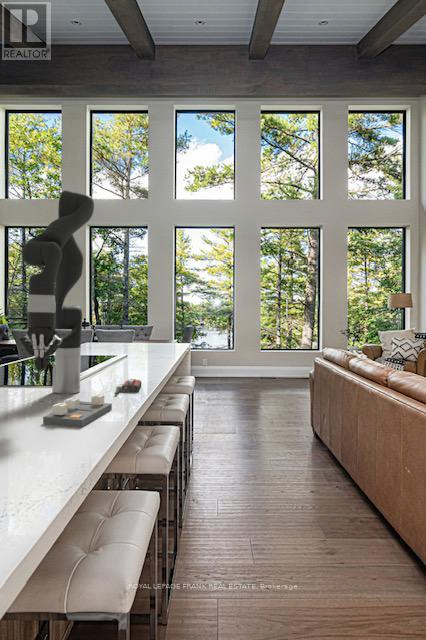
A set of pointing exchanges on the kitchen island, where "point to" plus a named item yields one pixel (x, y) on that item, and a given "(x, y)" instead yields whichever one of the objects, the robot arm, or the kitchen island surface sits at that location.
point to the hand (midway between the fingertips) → (41, 369)
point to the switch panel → (78, 415)
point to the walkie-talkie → (129, 386)
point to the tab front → (60, 409)
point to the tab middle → (72, 403)
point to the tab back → (97, 399)
